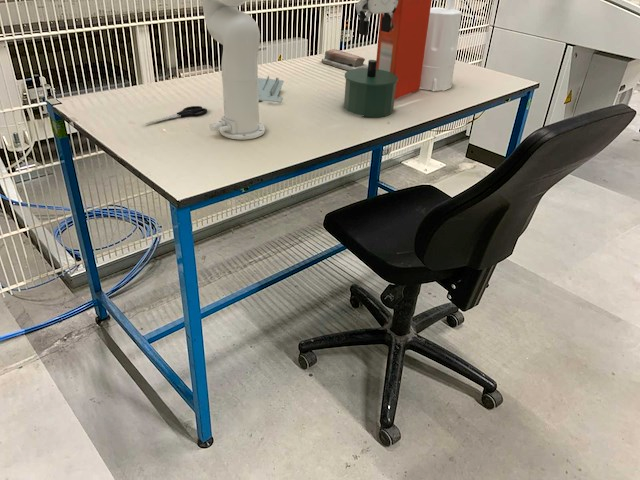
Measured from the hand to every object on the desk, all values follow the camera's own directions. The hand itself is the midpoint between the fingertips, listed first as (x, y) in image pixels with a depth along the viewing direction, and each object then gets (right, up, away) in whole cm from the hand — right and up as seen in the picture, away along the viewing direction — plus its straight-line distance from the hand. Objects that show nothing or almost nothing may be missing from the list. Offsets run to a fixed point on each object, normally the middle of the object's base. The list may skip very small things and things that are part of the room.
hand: (374, 33), depth 154 cm
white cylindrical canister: (+25, -4, +38) cm, 46 cm away
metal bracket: (-35, -13, +20) cm, 42 cm away
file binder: (+11, -10, +28) cm, 32 cm away
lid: (0, -11, +8) cm, 13 cm away
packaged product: (-6, +8, +54) cm, 55 cm away
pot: (-1, -19, +13) cm, 23 cm away
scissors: (-59, -25, 0) cm, 64 cm away
